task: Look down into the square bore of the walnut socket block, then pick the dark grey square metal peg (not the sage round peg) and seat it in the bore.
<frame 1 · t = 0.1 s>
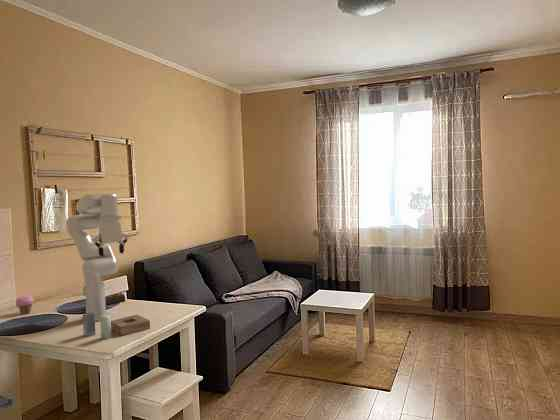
hand: (111, 254, 204), 37 cm above the table, fingers open, 9 cm apart
socket block: (129, 328, 205), on the table
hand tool: (106, 306, 249), on the table
square peg: (89, 334, 198), on the table
cupcake: (25, 313, 237), on the table
round peg: (106, 337, 193), on the table
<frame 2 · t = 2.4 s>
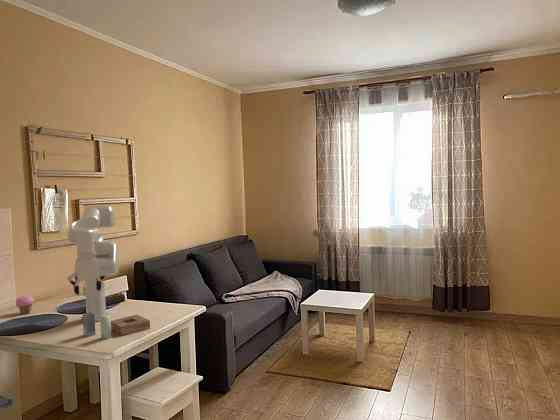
hand: (88, 292, 197), 20 cm above the table, fingers open, 9 cm apart
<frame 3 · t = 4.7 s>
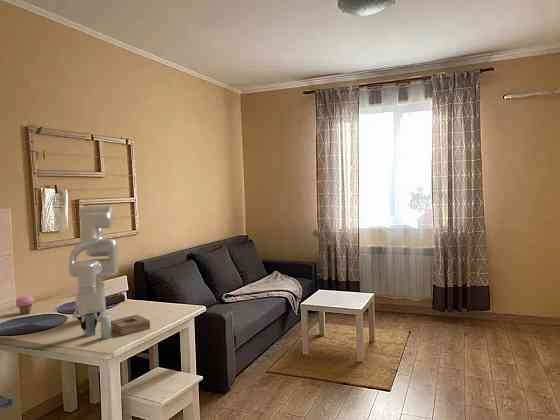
hand: (89, 327, 198), 3 cm above the table, fingers closed on square peg, 4 cm apart
square peg: (89, 334, 198), on the table, touching gripper
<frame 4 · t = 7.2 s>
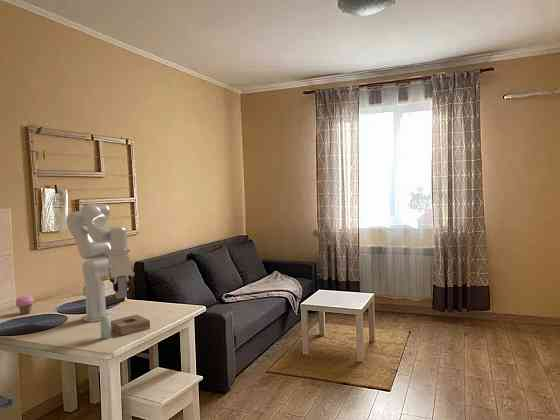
hand: (120, 290, 203), 19 cm above the table, fingers closed on square peg, 4 cm apart
square peg: (121, 297, 203), point 16 cm above the table, touching gripper
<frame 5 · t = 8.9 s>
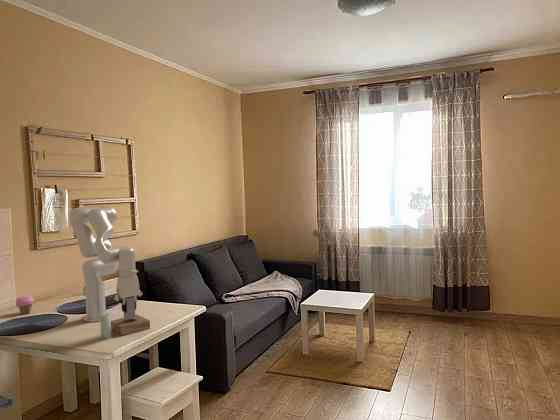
hand: (129, 310, 205), 9 cm above the table, fingers closed on square peg, 4 cm apart
square peg: (129, 317, 205), point 6 cm above the table, touching gripper
when the fingers open (5 cm above the table, at t = 10.1 s): square peg drops 1 cm, resting in socket block.
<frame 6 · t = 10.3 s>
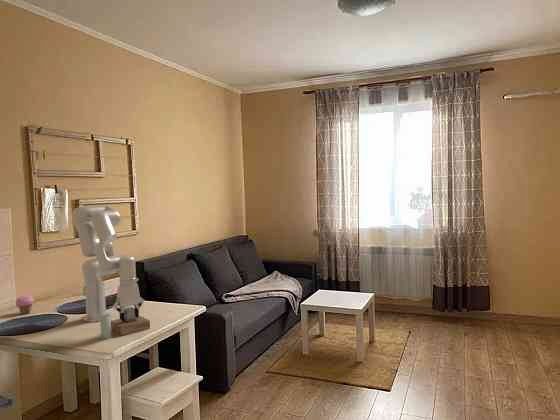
hand: (129, 318, 205), 5 cm above the table, fingers open, 6 cm apart
square peg: (129, 328, 205), resting in socket block
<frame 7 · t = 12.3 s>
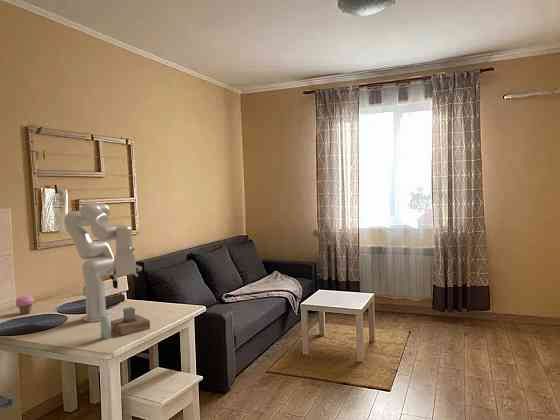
hand: (125, 286, 205), 21 cm above the table, fingers open, 9 cm apart
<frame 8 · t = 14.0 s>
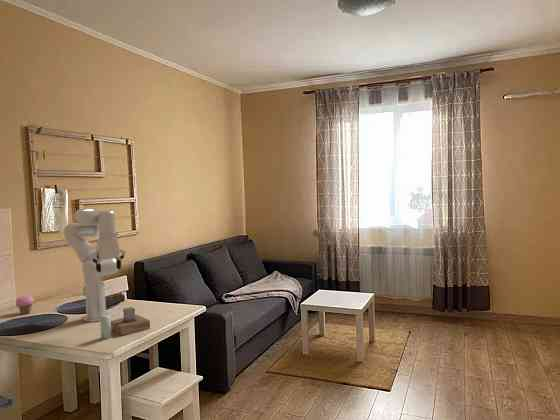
hand: (108, 270, 208), 28 cm above the table, fingers open, 9 cm apart
at the end: square peg 0.0 cm off-centre on the socket block, point 0.0 cm above the socket block's base; square peg tilted 0°; round peg moved 0.0 cm from its start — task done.
